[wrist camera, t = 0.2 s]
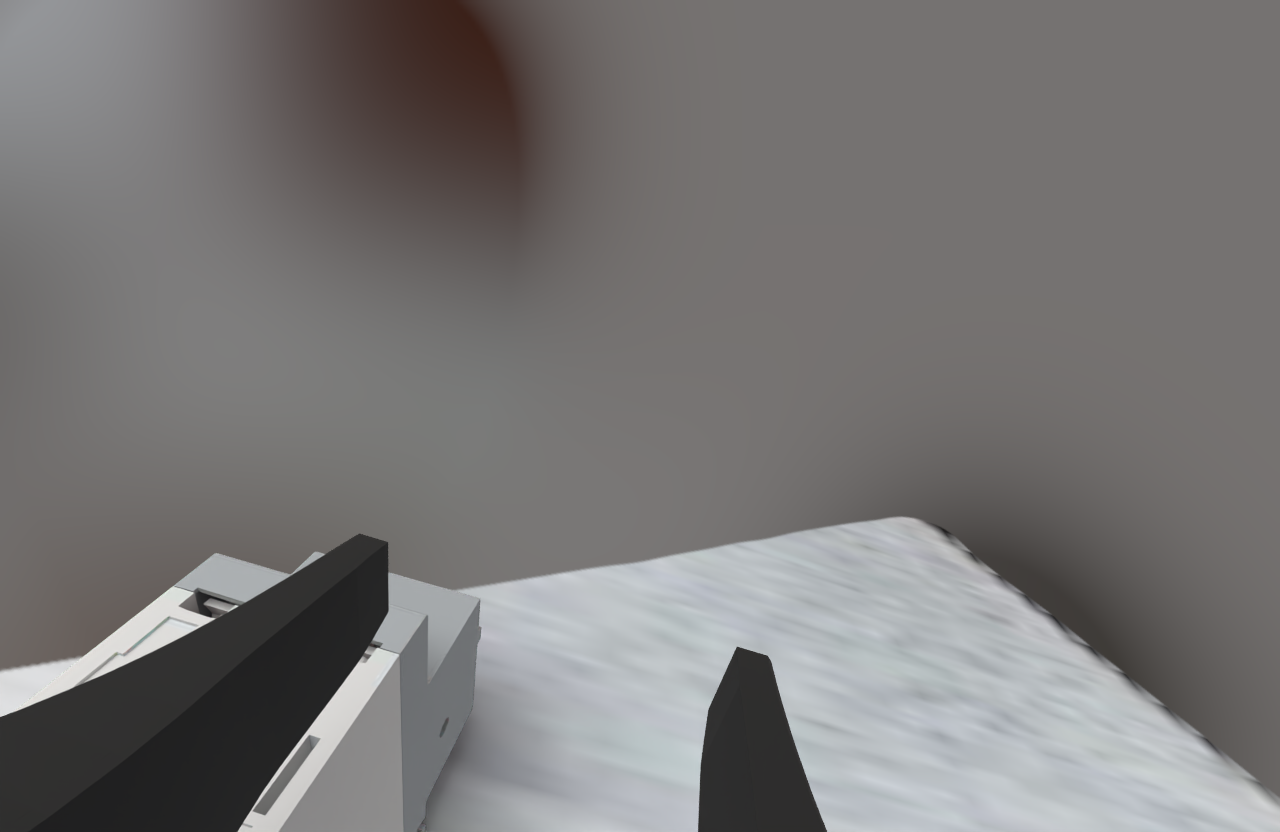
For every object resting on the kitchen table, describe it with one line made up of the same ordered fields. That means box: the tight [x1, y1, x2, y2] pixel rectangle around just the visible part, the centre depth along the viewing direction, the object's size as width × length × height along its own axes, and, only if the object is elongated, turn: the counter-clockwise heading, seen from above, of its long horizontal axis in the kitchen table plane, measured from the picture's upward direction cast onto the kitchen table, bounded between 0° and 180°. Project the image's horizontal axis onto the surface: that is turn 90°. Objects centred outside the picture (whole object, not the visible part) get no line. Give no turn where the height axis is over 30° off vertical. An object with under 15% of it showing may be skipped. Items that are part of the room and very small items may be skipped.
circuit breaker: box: [12, 552, 481, 832], centre depth 22 cm, size 8×14×15 cm, turn 169°
